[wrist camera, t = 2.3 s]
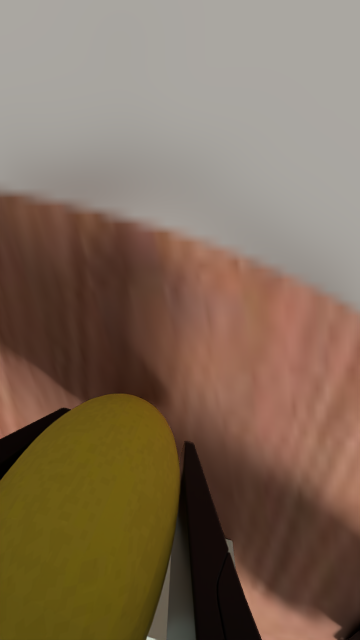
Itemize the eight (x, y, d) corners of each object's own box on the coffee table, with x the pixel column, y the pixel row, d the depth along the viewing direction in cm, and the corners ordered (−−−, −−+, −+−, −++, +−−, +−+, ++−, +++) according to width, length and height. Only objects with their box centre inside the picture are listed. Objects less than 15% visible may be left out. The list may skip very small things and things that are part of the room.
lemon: (185, 449, 10) (140, 1001, 2) (96, 437, 11) (-167, 856, 3) (189, 365, 9) (106, 1091, 1) (86, 357, 9) (-480, 774, 2)
